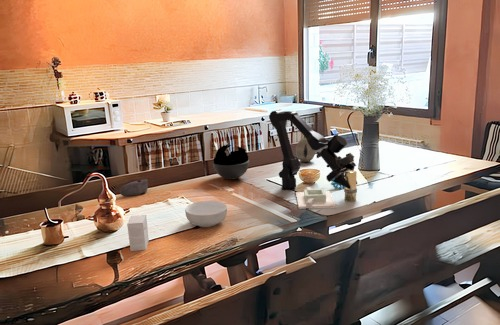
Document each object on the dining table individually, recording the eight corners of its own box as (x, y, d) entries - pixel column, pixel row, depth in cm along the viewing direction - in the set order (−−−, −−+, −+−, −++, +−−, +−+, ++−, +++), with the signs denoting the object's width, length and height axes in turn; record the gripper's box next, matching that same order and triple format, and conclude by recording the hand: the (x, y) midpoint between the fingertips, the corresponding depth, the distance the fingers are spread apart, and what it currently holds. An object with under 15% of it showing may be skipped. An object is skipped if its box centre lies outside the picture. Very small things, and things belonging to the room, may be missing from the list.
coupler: (345, 201, 193) (345, 173, 190) (343, 197, 199) (343, 170, 196) (357, 201, 193) (358, 173, 190) (355, 197, 199) (355, 170, 195)
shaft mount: (298, 209, 186) (298, 200, 185) (295, 193, 208) (295, 185, 207) (336, 208, 186) (336, 199, 185) (329, 192, 208) (329, 184, 207)
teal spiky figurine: (332, 187, 209) (327, 170, 214) (327, 193, 213) (322, 176, 219) (352, 187, 212) (347, 170, 217) (347, 193, 217) (341, 176, 222)
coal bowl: (208, 177, 243) (206, 144, 238) (241, 171, 250) (240, 140, 246) (220, 186, 225) (218, 150, 220) (256, 180, 232) (254, 146, 228)
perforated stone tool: (121, 198, 212) (119, 185, 210) (118, 196, 216) (117, 182, 215) (151, 193, 218) (149, 180, 217) (148, 190, 223) (147, 177, 221)
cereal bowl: (211, 234, 164) (209, 217, 163) (177, 227, 173) (176, 210, 171) (235, 219, 178) (235, 203, 177) (203, 213, 187) (202, 198, 185)
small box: (133, 242, 161) (130, 215, 158) (149, 240, 161) (146, 214, 159) (130, 251, 153) (126, 223, 151) (146, 250, 154) (143, 222, 151)
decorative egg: (296, 159, 273) (295, 136, 269) (315, 159, 271) (315, 136, 268) (295, 164, 262) (295, 140, 258) (315, 164, 260) (315, 139, 256)
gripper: (332, 152, 186) (356, 181, 182) (352, 144, 200) (374, 170, 196) (316, 167, 193) (339, 195, 188) (337, 159, 207) (358, 184, 202)
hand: (353, 186), depth 194 cm, fingers open, 6 cm apart
